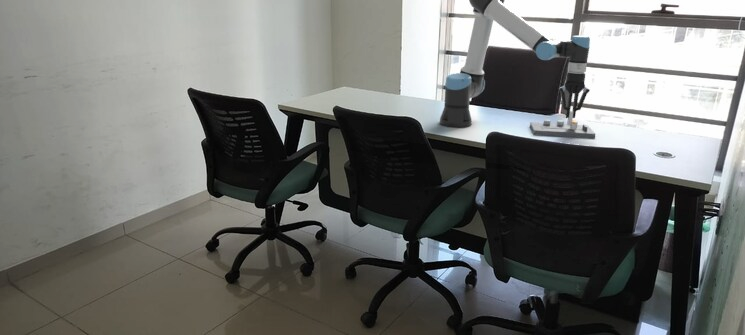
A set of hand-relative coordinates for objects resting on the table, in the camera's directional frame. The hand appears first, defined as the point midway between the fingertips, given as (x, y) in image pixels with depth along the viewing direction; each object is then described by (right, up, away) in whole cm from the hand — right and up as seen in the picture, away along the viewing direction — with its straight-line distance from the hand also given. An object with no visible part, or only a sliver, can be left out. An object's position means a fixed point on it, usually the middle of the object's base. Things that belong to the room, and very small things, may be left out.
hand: (569, 124), depth 239 cm
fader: (+2, -2, 0) cm, 2 cm away
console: (-2, -3, +4) cm, 5 cm away
